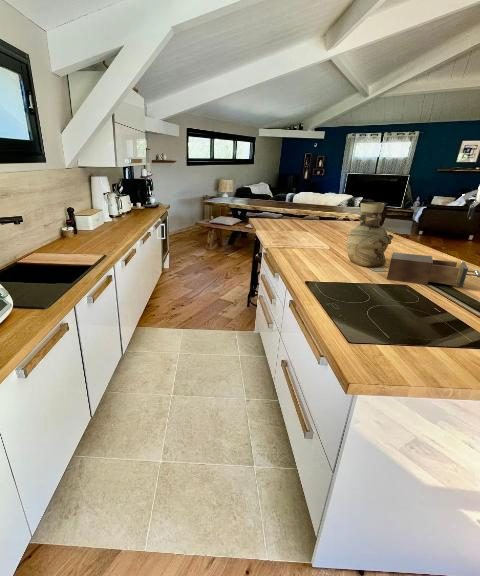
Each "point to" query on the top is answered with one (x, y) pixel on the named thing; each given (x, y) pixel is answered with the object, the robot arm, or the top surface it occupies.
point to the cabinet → (410, 268)
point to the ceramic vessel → (368, 238)
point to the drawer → (450, 273)
